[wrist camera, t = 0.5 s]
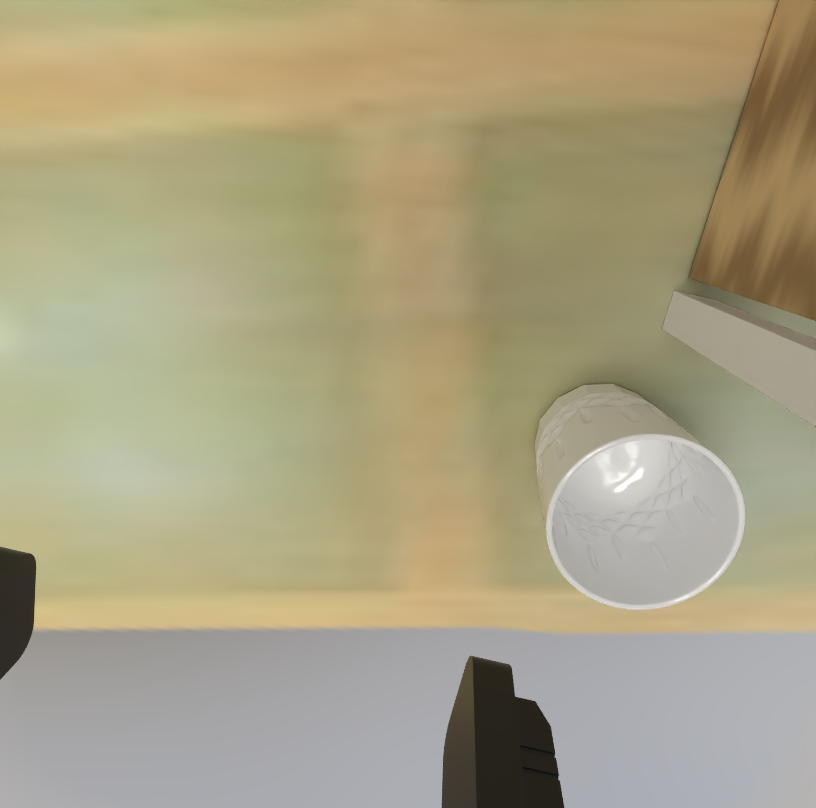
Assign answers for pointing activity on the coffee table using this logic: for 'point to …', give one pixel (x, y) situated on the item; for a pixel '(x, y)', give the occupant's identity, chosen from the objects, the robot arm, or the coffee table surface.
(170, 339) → the coffee table surface
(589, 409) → the white cup
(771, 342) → the door frame
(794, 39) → the door
